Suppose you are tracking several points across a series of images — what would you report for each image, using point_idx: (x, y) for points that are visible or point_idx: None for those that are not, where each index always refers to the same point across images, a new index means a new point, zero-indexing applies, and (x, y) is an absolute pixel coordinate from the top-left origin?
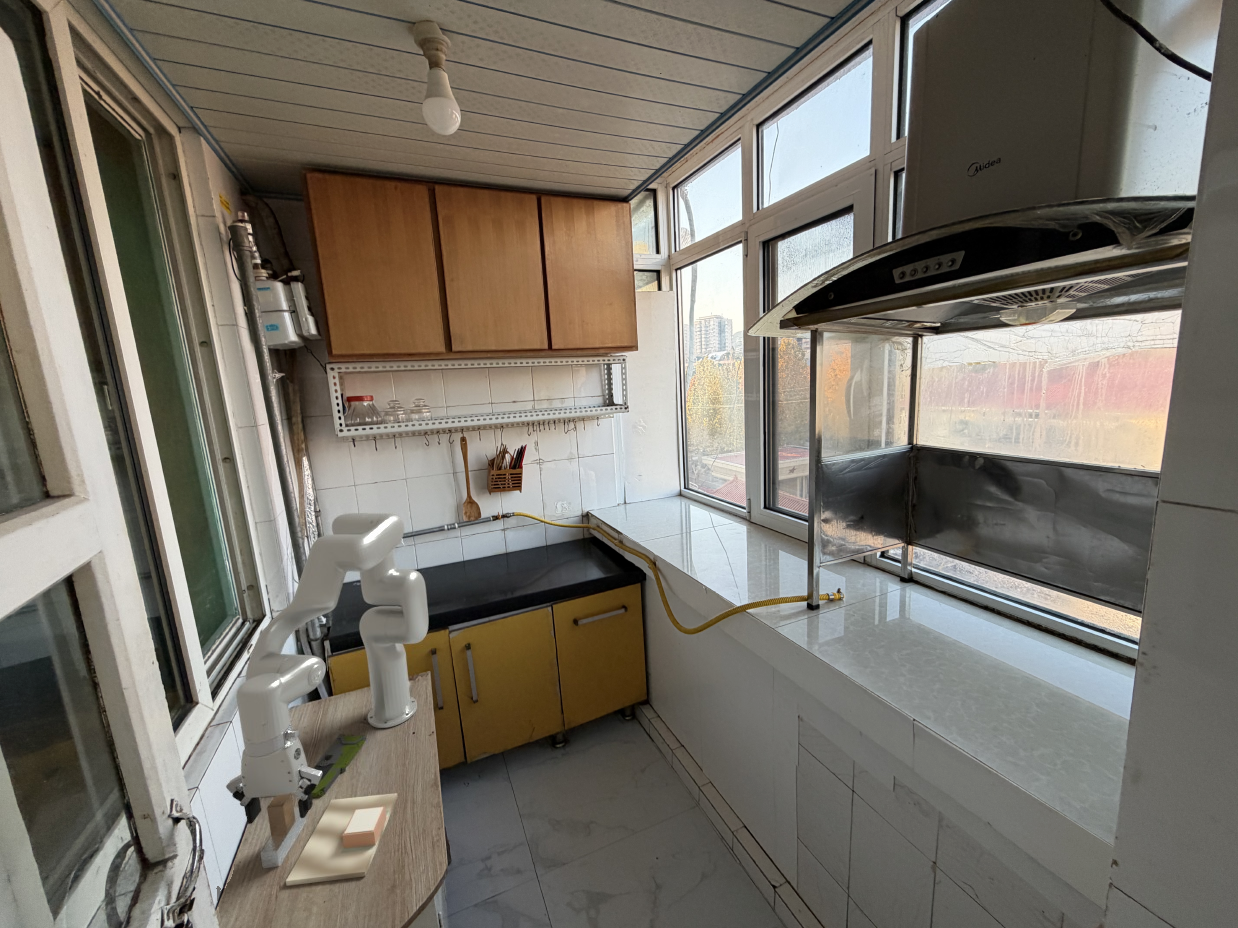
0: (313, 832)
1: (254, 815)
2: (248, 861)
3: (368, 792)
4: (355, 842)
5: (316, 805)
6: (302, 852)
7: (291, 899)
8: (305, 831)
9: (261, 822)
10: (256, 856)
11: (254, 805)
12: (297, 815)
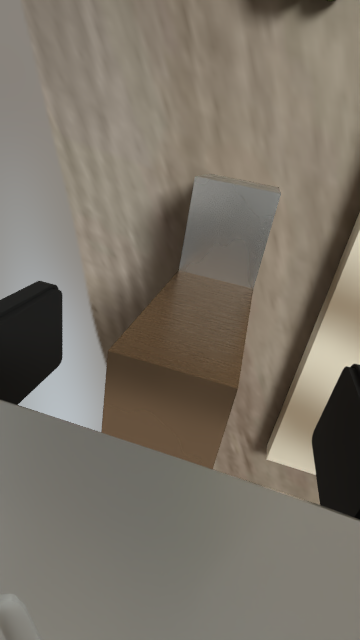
0: (330, 305)
1: (48, 353)
2: (119, 317)
3: None
4: None
5: (313, 81)
6: (299, 383)
7: (290, 487)
8: (285, 254)
9: (77, 129)
10: (135, 307)
11: (7, 375)
12: (253, 251)
